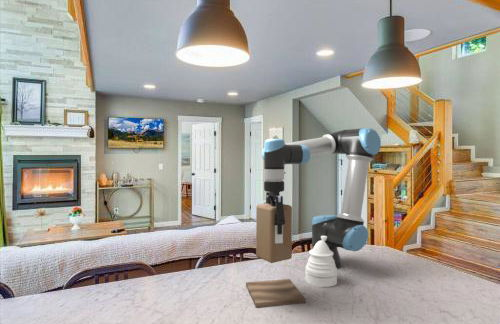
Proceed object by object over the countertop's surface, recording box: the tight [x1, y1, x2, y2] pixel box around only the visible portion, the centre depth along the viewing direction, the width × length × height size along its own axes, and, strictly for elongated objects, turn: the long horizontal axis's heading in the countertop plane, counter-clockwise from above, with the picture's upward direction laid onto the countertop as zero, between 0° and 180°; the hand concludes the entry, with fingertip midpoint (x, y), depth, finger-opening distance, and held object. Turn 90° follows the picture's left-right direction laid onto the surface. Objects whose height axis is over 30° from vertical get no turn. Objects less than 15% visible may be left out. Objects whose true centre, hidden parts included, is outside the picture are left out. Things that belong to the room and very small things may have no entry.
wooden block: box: [255, 202, 293, 264], centre depth 120 cm, size 10×10×20 cm
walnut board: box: [245, 278, 307, 308], centre depth 121 cm, size 18×18×2 cm
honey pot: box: [304, 236, 338, 288], centre depth 133 cm, size 13×13×18 cm
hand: (273, 238), depth 120 cm, fingers closed on wooden block, 12 cm apart
